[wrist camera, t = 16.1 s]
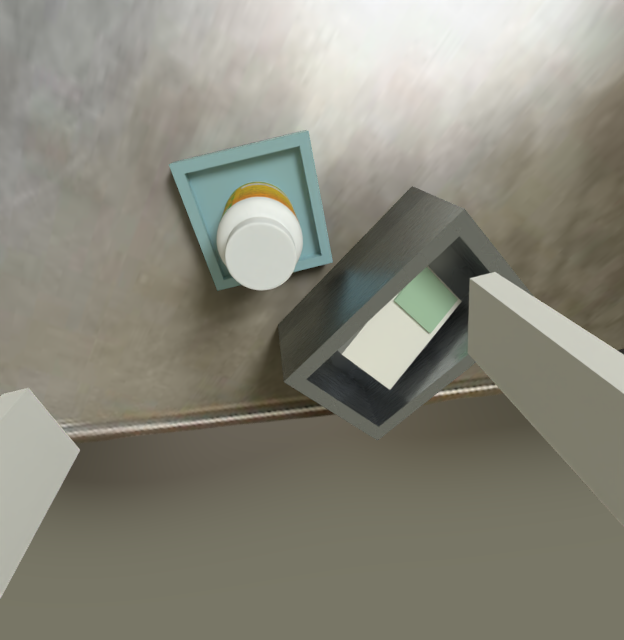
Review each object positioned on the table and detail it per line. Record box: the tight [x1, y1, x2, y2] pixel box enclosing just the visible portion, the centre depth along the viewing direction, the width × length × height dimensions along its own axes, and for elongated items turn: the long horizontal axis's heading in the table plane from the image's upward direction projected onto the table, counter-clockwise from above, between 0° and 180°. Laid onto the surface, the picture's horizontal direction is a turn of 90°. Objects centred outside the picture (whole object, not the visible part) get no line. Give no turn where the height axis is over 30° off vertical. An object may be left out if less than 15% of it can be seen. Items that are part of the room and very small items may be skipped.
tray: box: [169, 130, 333, 291], centre depth 28 cm, size 10×10×2 cm
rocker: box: [338, 266, 462, 390], centre depth 29 cm, size 10×7×2 cm
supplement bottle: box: [217, 181, 303, 290], centre depth 24 cm, size 5×5×10 cm
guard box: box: [278, 186, 534, 440], centre depth 30 cm, size 17×11×8 cm, turn 137°
